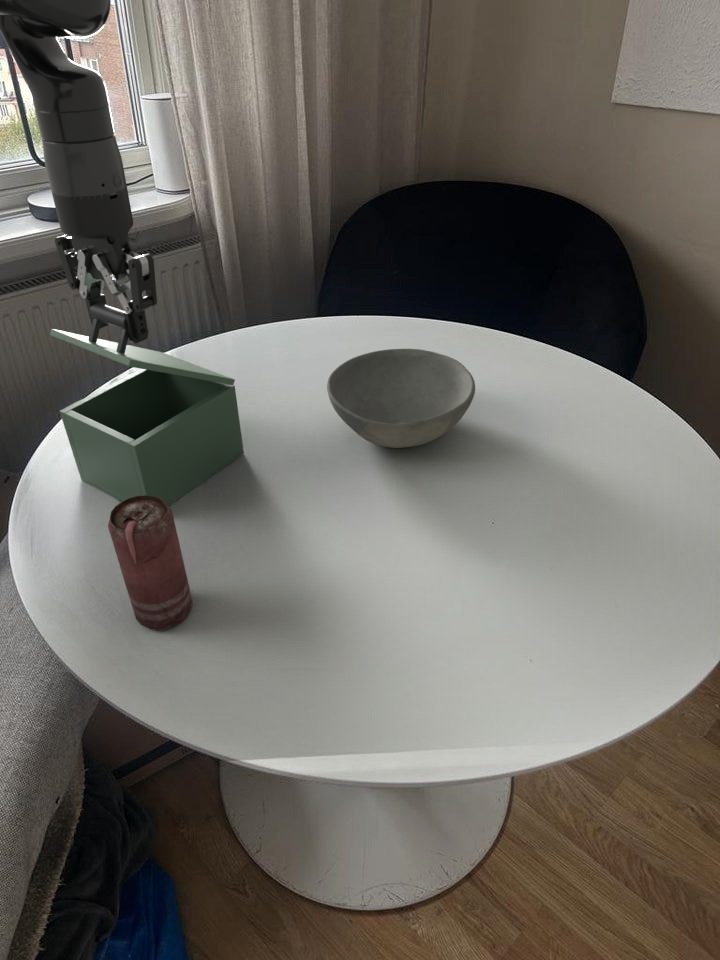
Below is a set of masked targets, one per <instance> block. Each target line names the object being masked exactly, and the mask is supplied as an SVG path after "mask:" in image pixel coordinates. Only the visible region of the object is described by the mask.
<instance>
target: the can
mask: <svg viewBox="0 0 720 960" xmlns="http://www.w3.org/2000/svg"><path fill="white" fill-rule="evenodd" d="M107 523H108V524H107V528H108V532H109V535H110V539H111V541H112V545H113V548H114V551H115V555H116V559H117V562H118V565H119V568H120V571H121V575H122V578H123V581H124V585H125V588H126V591H127V594H128V598H129V601H130V604H131V607H132V611H133V614H134V618H135V620H136V621H137V623H139V625H141V626H143V627H145V628H147V629H149V630H153V631H166V630H169V629H172V628H174V627H177V626H178V625H180V624H182V622H184V620H186V619H187V617H188V616H189V614H190V612H191V611H192V609H193V597H192V594H191V593H192V592H191V588H190V584H189V580H188V579H189V578H188V575H187V571H186V567H185V562H184V557H183V553H182V550H181V549H182V548H181V545H180V540H179V535H178V530H177V526H176V521H175V518H174V513H173V510H172V508H171V507H170V506H168V505H166V503H165V502H164V501H163V500H162V499H161V498H158V497H156V496H150V495H141V496H135V497H131V498H128V499H126V500H124V501H122V502H121V501H120V502H119V503H118V504H116V505H115V506H114V507H113V509H112V510H111V512H110V515H109V521H108V522H107Z"/></svg>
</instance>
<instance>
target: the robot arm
mask: <svg viewBox="0 0 720 960" xmlns="http://www.w3.org/2000/svg"><path fill="white" fill-rule="evenodd" d="M111 1H112V0H0V34H1V36H2V38H3V40H4V42H5V44H6V46H7V48H8V50H9V53H10V55H11V57H12V59H13V60H14V62H15V64H16V67H17V69H18V71H19V74H20V75H21V77H22V79H23V81H24V82H25V84H26V86H27V88H28V90H29V93H30V96H31V100H32V104H33V108H34V114H35V118H36V122H37V126H38V130H39V135H40V138H41V143H42V144H41V145H42V149H43V161H44V166H45V170H46V174H47V179H48V182H49V183H48V184H49V187H50V190H51V196H52V199H53V203H54V207H55V212H56V215H57V219H58V224H59V229H60V230H61V232H62V234H63V235H61V236H57V237H55V238H54V243H55V248H56V249H57V254H58V256H59V260H60V262H61V265H62V269H63V271H64V274H65V277H66V281H67V284H68V287H69V289H71V290H72V291H75V290H77V291H79V292H78V293H79V296H80V297H81V298H82V299H84V301H85V306H86V309H87V313H88V318H89V321H90V325H91V326H92V323H93V318H92V317H91V315H90V308H91V306H92V305H93V304H94V303H96V302H99V303H102V304H105V305H108V304H107V299H106V295H105V294H104V293H103V292H104V287H105V284H106V285H107V287H108V289H109V291H110V293H111V294H112V295H113V296H116V297H117V299H118V301H119V303H120V305H121V307H122V309H123V311H125V312H124V317H125V322H126V327H127V332H128V337H129V338H128V341H129V342H130V343H133V344H139V343H140V342H143V341H145V340H147V339H148V338H149V327H148V322H147V317H146V310H147V309H150V308H152V307H155V306H157V305H158V296H157V295H158V294H157V283H156V272H155V271H156V269H155V260H154V256H152V254H151V253H146V254H142V255H141V254H138V253H137V252H135V251H134V249H133V246H132V244H131V242H130V240H129V236H128V235H129V232H130V230H131V229H132V228H133V226H134V217H133V212H132V208H131V202H130V197H129V190H128V185H127V179H126V174H125V168H124V163H123V158H122V154H121V152H120V151H121V150H120V148H119V145H118V142H117V137H116V134H115V129H114V122H113V117H112V112H111V107H110V100H109V96H108V90H107V87H106V83H105V80H104V79H103V77H102V75H101V74H100V73H99V72H98V71H96V70H94V69H92V68H90V67H88V66H83V65H81V64H78V63H76V62H74V61H73V60H71V59H70V58H69V57H68V56H67V55H66V53H65V51H64V49H63V47H62V45H61V43H60V42H59V40H58V38H62V39H63V38H66V39H86V38H89V37H92V36H94V35H97V34H98V33H99V32H100V31H101V30H102V29H103V28H104V26H105V25H106V23H107V22H108V19H109V16H110V13H111V5H112V2H111ZM76 267H77V272H76V273H77V274H76V273H75V268H76ZM126 278H128V281H126V282H124V283H119V281H122V280H125V279H126ZM127 291H130V293H131V300H130V298H129V296H128V294H127ZM144 292H145V295H144ZM109 325H110V324H107V323H104V322H101V326H100V329H103V328H105V327H108V326H109Z"/></svg>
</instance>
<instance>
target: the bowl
mask: <svg viewBox="0 0 720 960" xmlns="http://www.w3.org/2000/svg"><path fill="white" fill-rule="evenodd" d="M326 392H327V395H328V399H329V401H330V404H331V405H332V408H333V409H334V411H335V412H336V414H337V416H338V417H340V419H341V420H342V421H343V422H344V424H346V425H347V426H348V427H349V428H350V429H351V430H352V431H353V432H355V433H356V434H357V435H358V436H360V438H363V439H364V440H366V441H368V442H370V443H372V444H374V445H377V446H380V447H384V448H391V449H393V448H394V449H403V448H410V447H418V446H422V445H425V444H428V443H431V442H432V441H434V440H436V439H439V438H440V437H442V436H443V435H445V434H446V433H447V432H449V431H450V430H452V428H454V427H455V426H456V425H457V424H458V423H459V421H460V420H462V417H464V416H465V414H466V412H467V411H468V409H469V408H470V406H471V404H472V402H473V400H474V397H475V395H476V382H475V379H474V377H473V375H472V373H471V372H470V371H469V370H468V368H467V367H465V365H464V364H462V362H460V361H458V360H457V359H455V358H453V357H451V356H448V355H445V354H441V353H439V352H436V351H431V350H426V349H419V348H388V349H382V350H375V351H371V352H367V353H364V354H363V353H362V354H360V355H356V356H355V357H352V358H349V359H348V360H346V361H344V362H343V363H341V364H340V365H338V366H337V367H336V368H335V369H334V370H333V371H332V372H331V373H330V375H329V377H328V379H327V382H326Z"/></svg>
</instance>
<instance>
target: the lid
mask: <svg viewBox="0 0 720 960" xmlns="http://www.w3.org/2000/svg"><path fill="white" fill-rule="evenodd" d="M124 312H125V311H124V310H121V309H120V308H116V307H113V306H110V305H108V304H107V305H105V304H102V303H99V302H96V303H94V304H93V305H92V306H91V308H90V315H91V317H92V318H93V323H92V325H91V328H90V331H89V336H87V335H83V334H78V333H75V332H68V331H64V330H59V329H55V328H51V330H50V334H49V335H50V337H54V338H56V339H59V340H61V341H64V342H65V343H68V344H71V345H74V346H77V347H79V348H81V349H84V350H86V351H89V352H91V353H93V354H96V355H99V356H102V357H104V358H107V359H109V360H111V361H114V362H117V363H119V364H121V365H123V366H127V367H129V368H134V369H139V370H140V369H146V370H151V371H157V372H162V373H168V374H173V375H179V376H185V377H190V378H196V379H201V380H207V381H212V382H218V383H224V384H229V385H234V384H235V382H236V379H235V378H232V377H230V376H227V375H224V374H221V373H218V372H217V371H213V370H210V369H208V368H205V367H203V366H200V365H197V364H194V363H192V362H189V361H186V360H184V359H181V358H179V357H177V356H173V355H170V354H167V353H165V352H162V351H158V350H153V349H150V348H149V349H148V348H144V347H139V346H135V345H131V344H130V345H129V344H128V341H129V337H128V332H127V327H126V322H125V317H124ZM101 322H104V323H107V324H109V325H110V326H113V327H116V328H117V329H121V331H120V334H119V337H118V342H115V341H112V340H111V341H110V340H107V339H101V338H99V334H100V329H101V328H100V326H101ZM234 386H235V385H234Z"/></svg>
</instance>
